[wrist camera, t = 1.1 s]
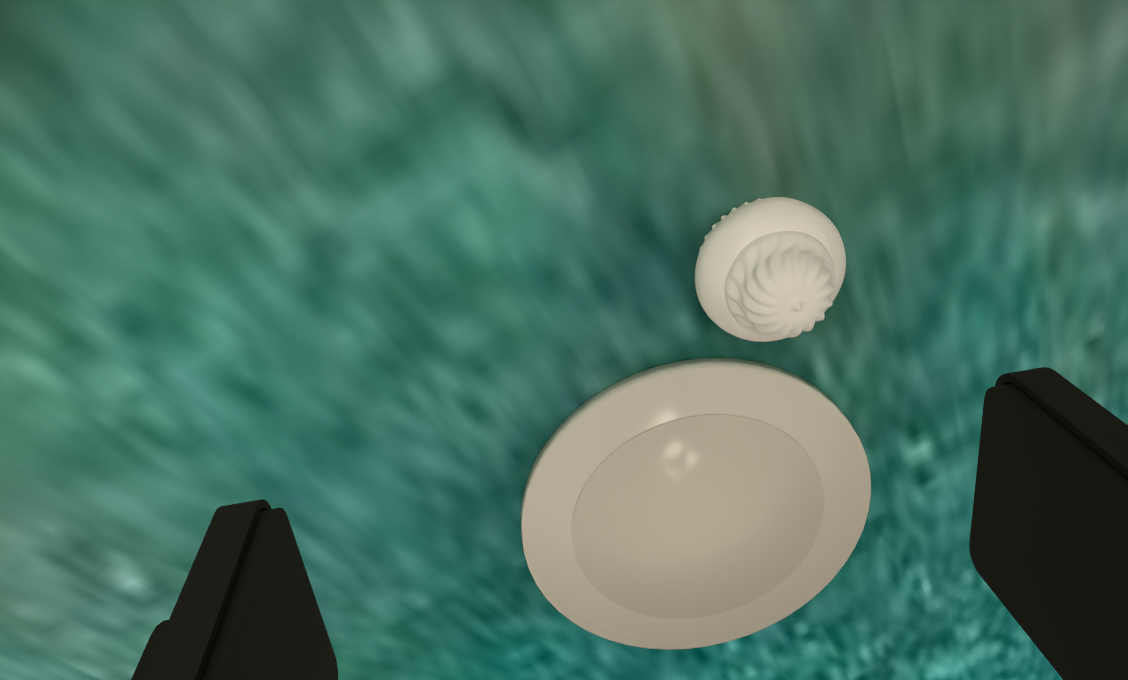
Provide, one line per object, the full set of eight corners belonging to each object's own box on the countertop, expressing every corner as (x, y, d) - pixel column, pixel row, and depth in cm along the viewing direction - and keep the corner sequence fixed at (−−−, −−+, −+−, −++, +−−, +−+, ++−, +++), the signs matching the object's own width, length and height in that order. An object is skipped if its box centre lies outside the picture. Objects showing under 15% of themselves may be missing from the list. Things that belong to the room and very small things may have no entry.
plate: (750, 286, 39) (758, 296, 38) (920, 519, 46) (930, 534, 45) (447, 498, 43) (446, 513, 42) (650, 682, 50) (654, 699, 49)
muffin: (806, 299, 39) (868, 375, 33) (674, 308, 39) (713, 386, 33) (820, 168, 37) (892, 224, 30) (679, 176, 36) (723, 234, 30)
